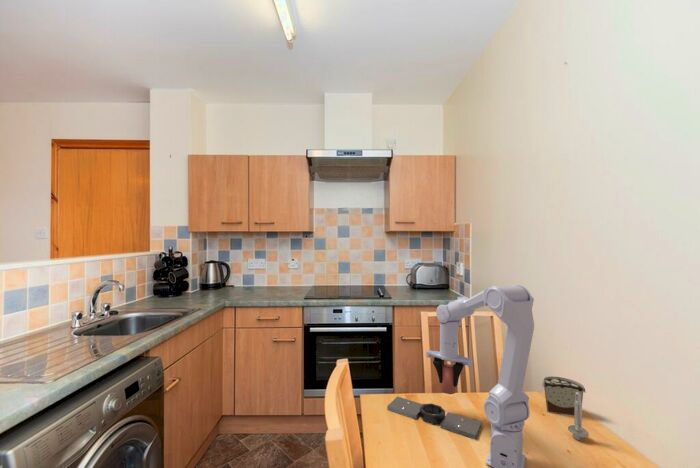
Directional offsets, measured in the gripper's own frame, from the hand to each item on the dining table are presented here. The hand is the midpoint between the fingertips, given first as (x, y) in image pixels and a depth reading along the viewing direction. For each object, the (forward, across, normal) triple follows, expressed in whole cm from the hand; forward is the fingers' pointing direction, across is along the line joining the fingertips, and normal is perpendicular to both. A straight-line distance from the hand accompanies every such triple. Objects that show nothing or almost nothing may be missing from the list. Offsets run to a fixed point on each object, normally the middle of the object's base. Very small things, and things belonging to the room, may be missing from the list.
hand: (448, 383), depth 101 cm
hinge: (+9, +3, +6) cm, 12 cm away
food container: (+10, -30, -24) cm, 40 cm away
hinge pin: (+2, 0, 0) cm, 2 cm away
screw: (+10, -34, -8) cm, 37 cm away
